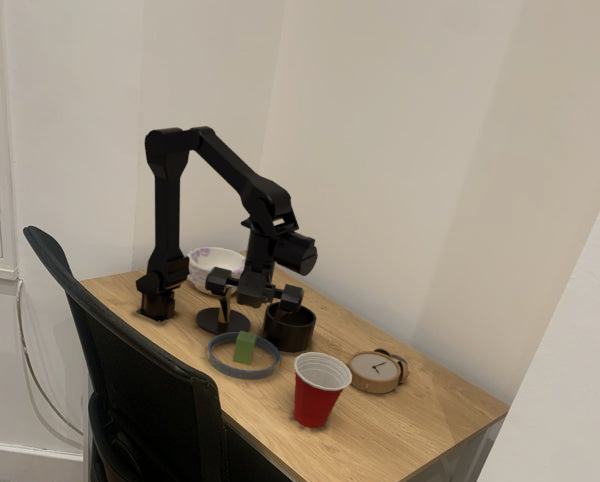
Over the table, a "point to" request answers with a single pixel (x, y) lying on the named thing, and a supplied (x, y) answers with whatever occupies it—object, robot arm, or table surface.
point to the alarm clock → (377, 370)
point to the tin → (289, 329)
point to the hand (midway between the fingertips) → (248, 326)
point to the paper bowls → (213, 264)
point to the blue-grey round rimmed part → (238, 372)
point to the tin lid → (222, 321)
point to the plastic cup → (318, 387)
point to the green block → (245, 347)
